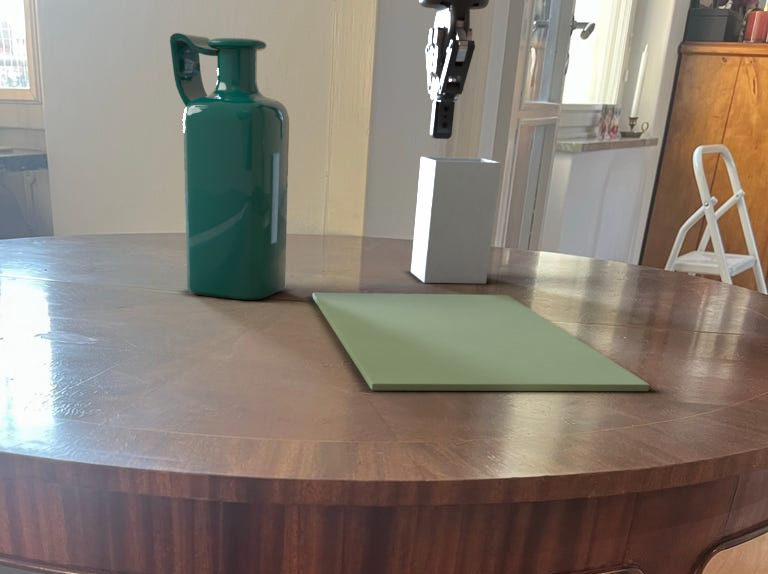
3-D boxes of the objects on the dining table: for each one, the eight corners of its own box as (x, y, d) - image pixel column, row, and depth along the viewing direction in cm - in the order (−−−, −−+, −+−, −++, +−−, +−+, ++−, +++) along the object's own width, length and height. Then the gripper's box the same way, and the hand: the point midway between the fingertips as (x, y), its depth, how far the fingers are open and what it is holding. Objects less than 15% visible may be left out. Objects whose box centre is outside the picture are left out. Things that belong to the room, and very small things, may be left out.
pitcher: (291, 289, 99) (298, 38, 88) (258, 302, 92) (261, 32, 81) (206, 280, 102) (203, 37, 91) (168, 293, 95) (159, 31, 84)
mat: (507, 300, 97) (507, 294, 97) (648, 391, 68) (650, 384, 67) (312, 297, 95) (312, 292, 95) (371, 390, 66) (372, 383, 65)
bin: (469, 273, 111) (482, 158, 105) (486, 283, 105) (501, 162, 99) (410, 272, 110) (420, 156, 105) (424, 282, 104) (435, 160, 98)
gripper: (511, -53, 96) (487, 142, 104) (476, -38, 107) (457, 137, 116) (438, -56, 95) (420, 140, 103) (410, -41, 106) (396, 135, 115)
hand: (440, 138), depth 109 cm, fingers closed
